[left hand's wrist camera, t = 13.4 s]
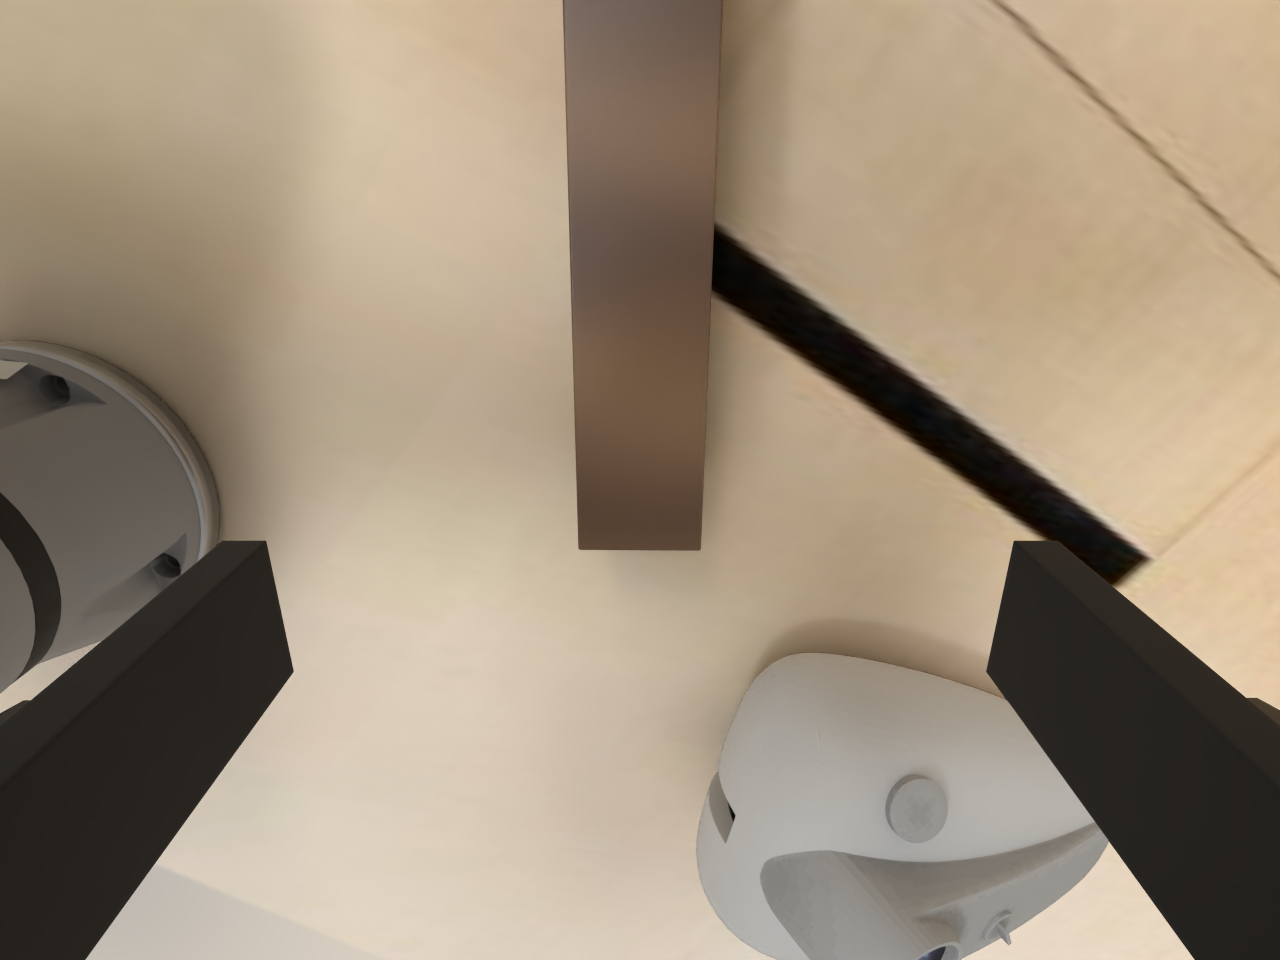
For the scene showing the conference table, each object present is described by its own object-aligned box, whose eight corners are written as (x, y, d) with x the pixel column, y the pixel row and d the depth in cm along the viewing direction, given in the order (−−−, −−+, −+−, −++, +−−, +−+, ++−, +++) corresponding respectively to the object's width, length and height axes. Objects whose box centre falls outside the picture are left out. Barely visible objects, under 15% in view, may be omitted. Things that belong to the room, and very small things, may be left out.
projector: (809, 943, 49) (873, 1232, 35) (608, 719, 42) (591, 969, 29) (1123, 797, 44) (1338, 1066, 31) (954, 518, 37) (1132, 704, 24)
